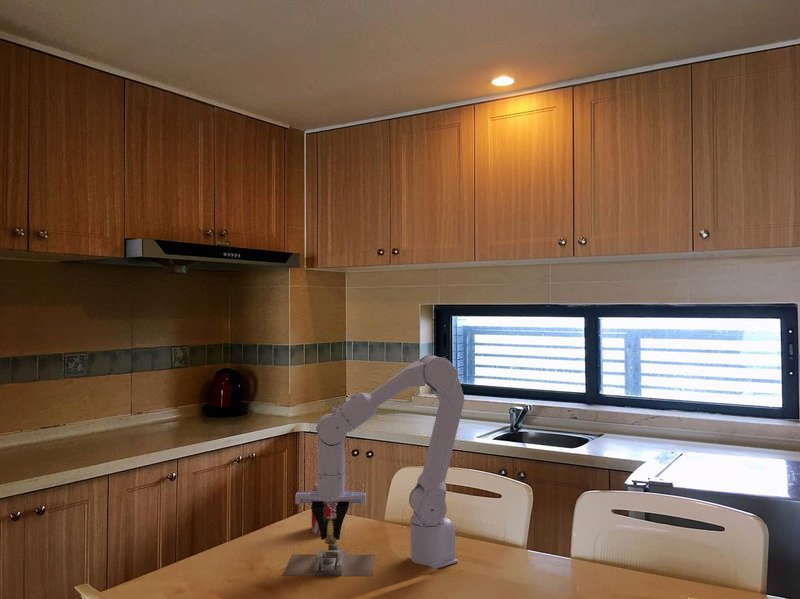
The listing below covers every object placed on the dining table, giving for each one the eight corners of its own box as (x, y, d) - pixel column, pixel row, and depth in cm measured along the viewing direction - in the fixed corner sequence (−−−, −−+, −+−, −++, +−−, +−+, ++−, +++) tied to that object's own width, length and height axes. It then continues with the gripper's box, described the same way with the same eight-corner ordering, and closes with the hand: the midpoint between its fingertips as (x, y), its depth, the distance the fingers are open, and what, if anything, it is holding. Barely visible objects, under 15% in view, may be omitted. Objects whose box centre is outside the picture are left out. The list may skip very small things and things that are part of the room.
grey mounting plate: (375, 559, 148) (375, 543, 148) (372, 581, 136) (372, 563, 136) (292, 558, 148) (292, 542, 148) (282, 580, 136) (282, 562, 136)
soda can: (321, 540, 160) (322, 489, 160) (305, 533, 165) (306, 483, 166) (346, 534, 164) (346, 484, 165) (330, 527, 170) (330, 478, 170)
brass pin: (338, 542, 142) (338, 518, 142) (329, 545, 140) (329, 520, 140) (331, 539, 144) (332, 515, 144) (322, 542, 142) (322, 518, 142)
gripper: (366, 468, 146) (366, 532, 146) (299, 467, 146) (298, 531, 146) (364, 476, 139) (364, 543, 139) (293, 475, 139) (293, 542, 139)
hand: (330, 538), depth 142 cm, fingers closed on brass pin, 2 cm apart
